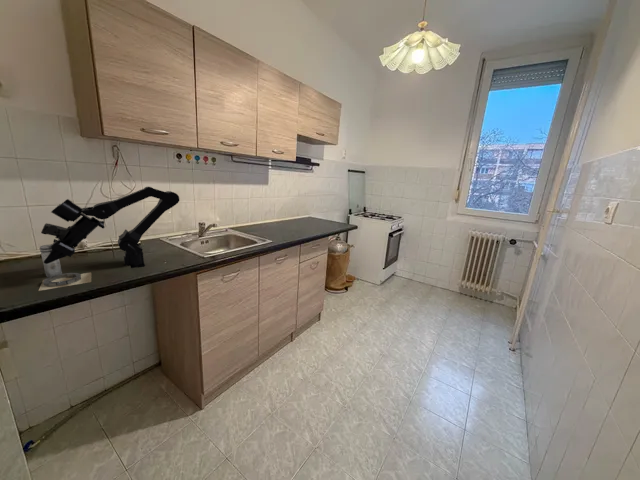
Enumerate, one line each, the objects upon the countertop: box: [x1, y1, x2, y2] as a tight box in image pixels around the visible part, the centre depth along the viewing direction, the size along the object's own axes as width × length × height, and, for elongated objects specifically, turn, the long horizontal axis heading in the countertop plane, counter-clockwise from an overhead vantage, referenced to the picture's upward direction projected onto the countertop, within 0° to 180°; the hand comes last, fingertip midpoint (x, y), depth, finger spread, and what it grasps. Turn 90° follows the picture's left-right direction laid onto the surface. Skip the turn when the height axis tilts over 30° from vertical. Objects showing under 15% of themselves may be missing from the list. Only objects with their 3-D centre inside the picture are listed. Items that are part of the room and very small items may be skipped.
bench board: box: [38, 272, 92, 292], centre depth 91 cm, size 13×11×1 cm
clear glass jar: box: [39, 243, 63, 278], centre depth 94 cm, size 4×4×12 cm
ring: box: [42, 272, 82, 287], centre depth 91 cm, size 9×9×1 cm
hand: (45, 261), depth 93 cm, fingers closed on clear glass jar, 4 cm apart
